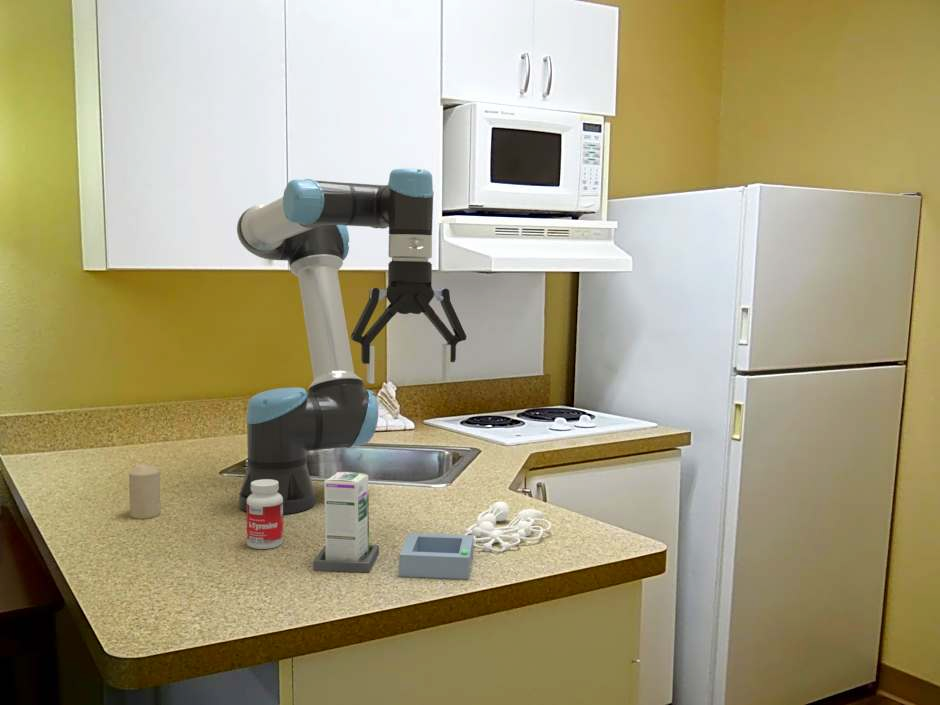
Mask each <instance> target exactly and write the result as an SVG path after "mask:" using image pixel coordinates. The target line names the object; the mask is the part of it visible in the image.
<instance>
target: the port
mask: <svg viewBox="0 0 940 705" xmlns="http://www.w3.org/2000/svg"><path fill="white" fill-rule="evenodd" d="M404 541H405V542H404V543H403V546H402V548H401V550H400V552H399V556H398V557H399V558H398V560H399V561H398V563H399V564H398V565H399V566H398V567H399V568H398V569H399V570H398V577H405V578H406V577H407V578H408V577H410V578H430V579H431V578H432V579H454V580H456V579H457V580H458V579H459V580H469V579H470V575H471V574H470V573H471V570H472V564H473V559H474V546H473V541H474V535H473V534H469V535H464V534H443V533H442V534H441V533H423V532H422V533H421V532H420V533H419V532H409V533H408V535H407V536H406V539H405V540H404Z"/></svg>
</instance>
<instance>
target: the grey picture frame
mask: <svg viewBox="0 0 940 705" xmlns="http://www.w3.org/2000/svg"><path fill="white" fill-rule="evenodd" d="M379 554H380V544H369V556H368V558H367V559H366V560H365V561H364V562H359V561H335V560H325V545H324V546H323V547H322V549H321V550H320V552H319V553H318V554H317V556H316V557H315V559H313V561H312V569H313V571H318V572H319V571H320V572H321V571H322V572H340V573H342V572H343V573H344V572H346V573H365V574H367V573H368V574H369V573H370V572H371V570H372V568H373V566H374V564H375V562H376V560H377V558H378V556H379Z"/></svg>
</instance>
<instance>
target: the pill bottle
mask: <svg viewBox="0 0 940 705" xmlns="http://www.w3.org/2000/svg"><path fill="white" fill-rule="evenodd" d="M278 490H279V483H278V481H276V480H272V479H262V480H255V481H253V482H251V491H252V492H253V493H252V494H251V495H249V497H248V498H247V512H246V545H247V546H248V547H249V548H252V549H256V550H269V549H270V550H271V549H276V548H277V547H279V546H281V545H282V544H283V542H284V514H283V497H282V496H281V495H280V494H279V493H277V491H278Z"/></svg>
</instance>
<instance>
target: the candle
mask: <svg viewBox="0 0 940 705" xmlns="http://www.w3.org/2000/svg"><path fill="white" fill-rule="evenodd" d="M160 473H161V470H160V469H159V468H157V467H156V466H155V465H153V464H148V463H142V462H139V463H137V464H135V465H134V466H133V468H131V470H130V471H128V483H129V485H128V488H129V490H128V491H129V515H130V516H129V517H130V518H132V519H135V520H136V519H139V520H143V519H151V518H155V517H158V516H160V515H161V478H160V477H161V474H160Z"/></svg>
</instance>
